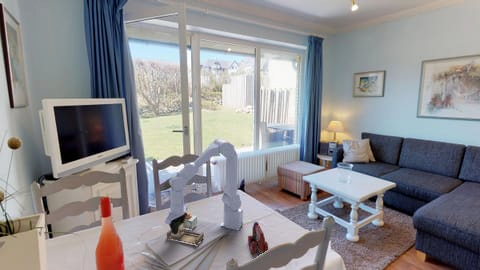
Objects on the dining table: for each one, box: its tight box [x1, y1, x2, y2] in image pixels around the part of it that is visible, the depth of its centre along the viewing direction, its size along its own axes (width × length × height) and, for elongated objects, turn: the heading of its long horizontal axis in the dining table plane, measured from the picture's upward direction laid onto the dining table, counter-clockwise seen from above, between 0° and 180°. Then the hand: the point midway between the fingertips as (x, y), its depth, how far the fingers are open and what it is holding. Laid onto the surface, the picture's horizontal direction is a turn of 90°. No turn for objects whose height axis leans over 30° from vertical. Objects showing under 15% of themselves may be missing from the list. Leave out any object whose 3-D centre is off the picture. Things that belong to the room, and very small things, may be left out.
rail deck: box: [166, 229, 205, 246], centre depth 102 cm, size 15×6×3 cm, turn 72°
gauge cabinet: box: [183, 214, 198, 229], centre depth 112 cm, size 7×5×5 cm
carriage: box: [171, 222, 184, 238], centre depth 102 cm, size 5×4×5 cm
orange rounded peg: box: [185, 211, 192, 219], centre depth 111 cm, size 2×2×3 cm
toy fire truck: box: [247, 221, 269, 254], centre depth 98 cm, size 7×12×10 cm, turn 10°
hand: (177, 231), depth 102 cm, fingers closed on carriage, 3 cm apart
